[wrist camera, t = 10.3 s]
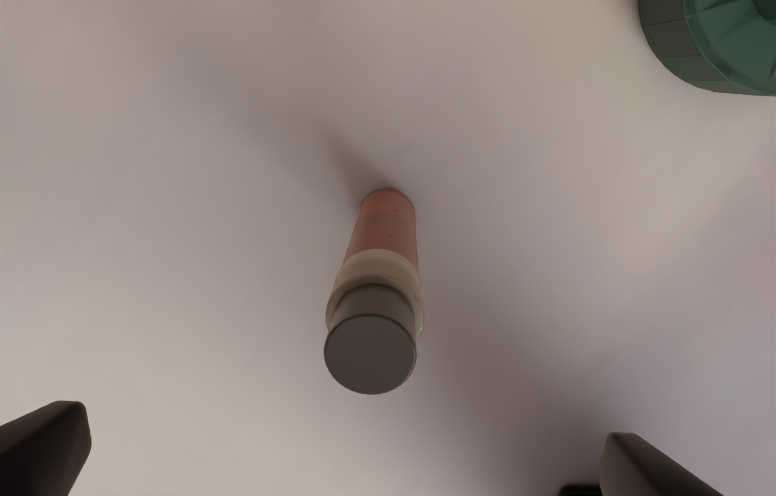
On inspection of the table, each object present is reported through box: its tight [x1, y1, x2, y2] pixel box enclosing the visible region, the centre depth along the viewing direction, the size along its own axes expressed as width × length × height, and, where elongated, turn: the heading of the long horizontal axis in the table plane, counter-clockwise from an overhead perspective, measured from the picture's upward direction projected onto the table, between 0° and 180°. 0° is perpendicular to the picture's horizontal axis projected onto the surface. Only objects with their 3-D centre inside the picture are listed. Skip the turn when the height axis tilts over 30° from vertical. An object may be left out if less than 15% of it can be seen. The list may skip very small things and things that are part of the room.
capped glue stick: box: [324, 189, 424, 394], centre depth 16 cm, size 2×2×11 cm
